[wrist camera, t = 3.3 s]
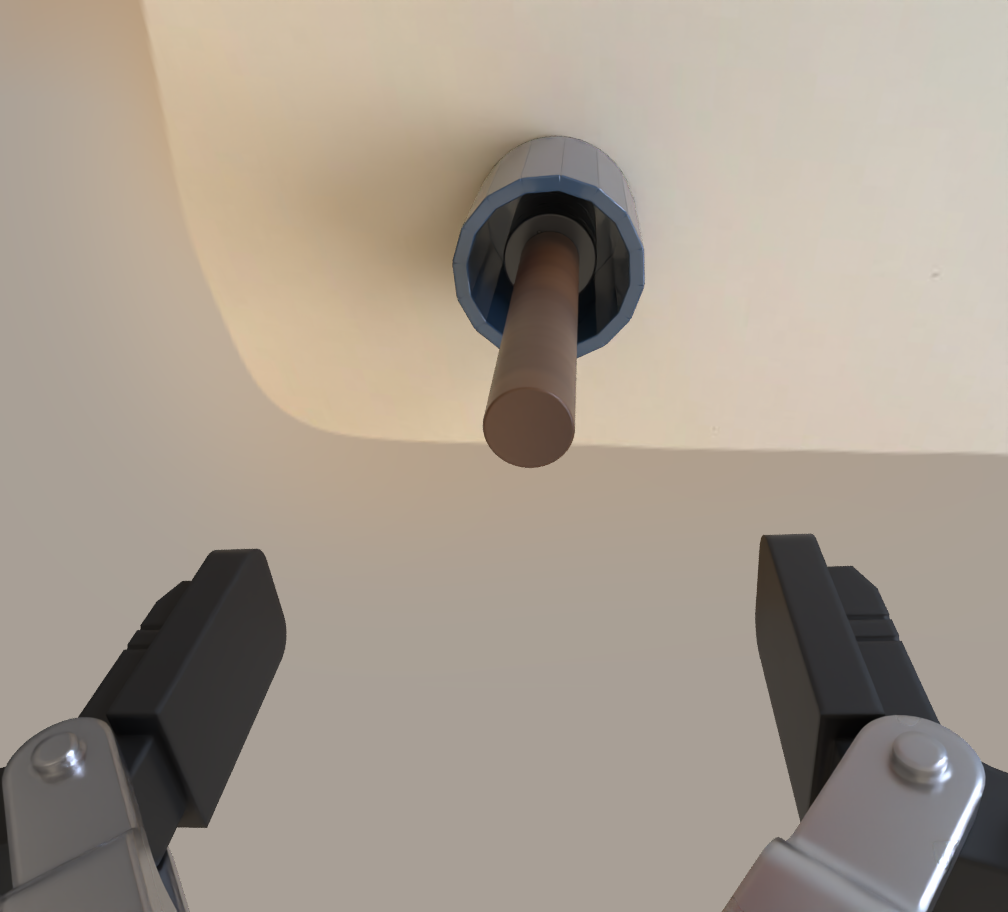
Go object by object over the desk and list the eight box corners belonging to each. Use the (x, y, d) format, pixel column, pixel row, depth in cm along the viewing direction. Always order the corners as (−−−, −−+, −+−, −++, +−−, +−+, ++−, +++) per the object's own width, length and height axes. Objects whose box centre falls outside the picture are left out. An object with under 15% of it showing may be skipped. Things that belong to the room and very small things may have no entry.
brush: (518, 264, 34) (464, 494, 19) (510, 183, 32) (445, 366, 17) (597, 258, 33) (605, 488, 19) (593, 176, 32) (599, 357, 17)
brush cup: (486, 297, 35) (465, 367, 29) (468, 143, 32) (441, 185, 26) (635, 287, 34) (646, 356, 28) (631, 128, 31) (642, 167, 25)
